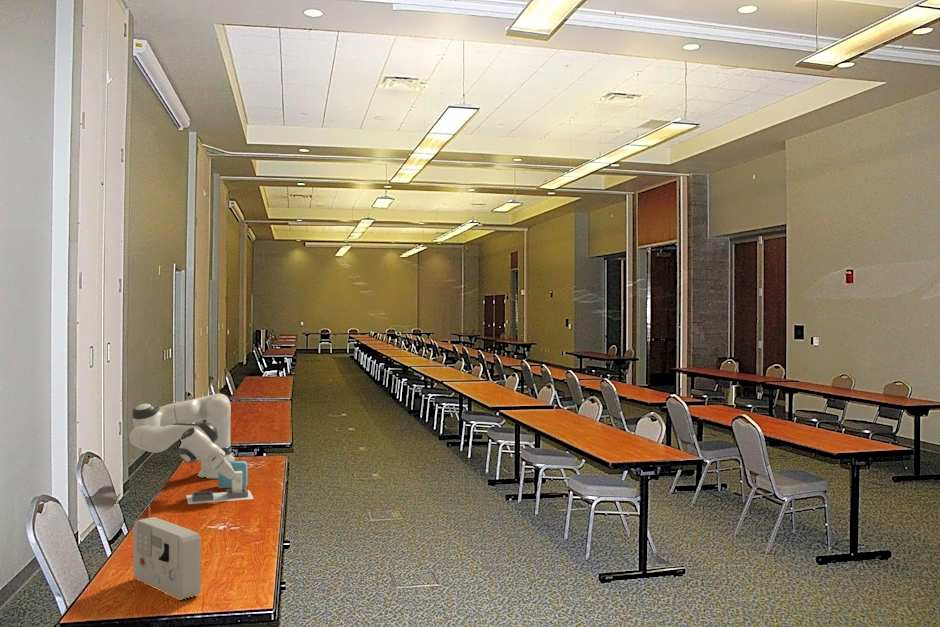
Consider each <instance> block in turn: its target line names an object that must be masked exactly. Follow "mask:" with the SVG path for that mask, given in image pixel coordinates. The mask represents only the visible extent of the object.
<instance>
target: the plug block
mask: <svg viewBox="0 0 940 627" xmlns="http://www.w3.org/2000/svg"><path fill="white" fill-rule="evenodd" d="M235 473H236V475H237V476H238V477H239V478H240V479H241V482H240V483H237V482H236V481H235V480H233V479H232V488H231V489H232V493H239V492H242V478H243V473H242V471H235Z"/></svg>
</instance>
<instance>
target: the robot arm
mask: <svg viewBox="0 0 940 627" xmlns="http://www.w3.org/2000/svg"><path fill="white" fill-rule="evenodd" d="M231 407H232V405H231V401H230V398H229V397H228V396H227V395H226V394H223V393H214V394H209V395H205V396H201V397H197V398H194V399H188V400H184V401H178V402H173V403H169V404H166V405H161V406H156V405H155V404H152V403H149V402H148V403H142V404H138V405H136V406H135V407H134V408H133V409H132V415H131V416H132V419H133V420H132V421H133V427H134V428H133V429H131V431H130V434H129V442H130V444H132V446H134V447H136V448H137V449H140V450H142V451H145V452H149V453H152V454H153V453H155V454H156V453H157V454H158V453H161V452H164V451H166V450H168V449H169V448H170V447H171V446H172V445H174V444H175V443H176V442H177V441H178V440H180V442H181V444H180V446H179V448H178V449H177V450H178V456H179V458H181V459H182V461H185V463H188V464H191V463H196V462H197V461H199V459H200V471H199V472H198V474H197V476H199V477H198V478H204V477H206V478H205V479H218V472H219V473H220V474H222V475H223V476H225V477H226V478H228V479H231V478H232V479H233V480H235V481H236V482H237V483H240V482H241V479H240V478H239V477H238V476H237V475H236V473H235V471H234V469H233V467H232V465H231V464H230V463H229V462H228V461H235V457H234V456H233V455H232V446H231V423H232V422H231V419H232V418H231V416H232V415H231V413H232V412H231V411H232V409H231ZM201 421H206V422H201ZM198 422H200V423H198Z"/></svg>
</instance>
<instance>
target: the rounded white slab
mask: <svg viewBox="0 0 940 627" xmlns="http://www.w3.org/2000/svg"><path fill="white" fill-rule="evenodd" d="M132 529H133V530H132V531H133V532H132V533H133V542H132V544H133V546H132V550H133V553H132V554H133V555H132V558H133V562H132V564H133V565H132V567H133V568H132V570H133V576H134V579H135V578H136V579H139V580H141V581H143V582H145V583H147V584H150V585H152V586H154V587H156V588H158V589H160V590H161V591H164V592H166V593H168V594H170V595H172V596H174V597H176V598H178V599H180V600H182V601H184V600H183V599H185V600H187V599H186V598H188V597H191V596H195V595H198V594H200V593H201V588H202V587H201V586H202V584H201V580H202V579H201V578H202V577H201V576H202V573H201V572H202V571H201V570H202V569H201V568H202V567H201V566H202V565H201V564H202V542H201V537H200V534H199V533H198V532H197V531H194V530H192V529H189V528H187V527H183V526H181V525H178V524H175V523H172V522H169V521H167V520H164V519H162V518H158V517H155V516H152V517H148V518H147V517H146V518H142V519H138V520H135V521H134V523H133V528H132ZM136 579H135V580H136ZM198 596H199V595H198ZM195 597H196V596H195ZM188 599H189V598H188Z"/></svg>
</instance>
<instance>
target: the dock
mask: <svg viewBox="0 0 940 627" xmlns="http://www.w3.org/2000/svg"><path fill="white" fill-rule="evenodd" d="M254 499H255V497H254V496H253V495H252V492H251V490H247V488H246V487H243V488H242V492H239V493H232V488H226V491H224V492H213V490H203V491H192V492H191V494H188V495H187V494H186V500H187V504H188V505H195V504H197V505H198V504H206V503H207V504H210V503H219V502H220V503H221V502H231V501H234V502H235V501H242V500H243V501H245V500H254Z"/></svg>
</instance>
